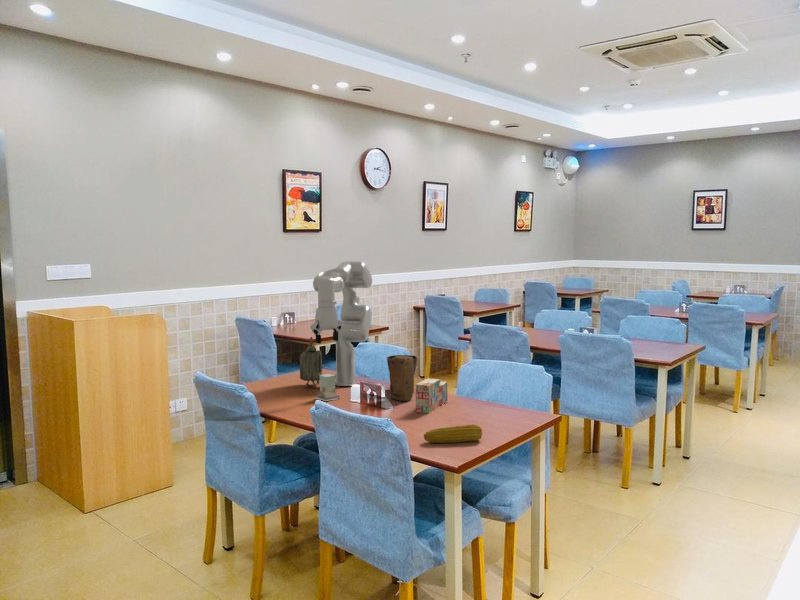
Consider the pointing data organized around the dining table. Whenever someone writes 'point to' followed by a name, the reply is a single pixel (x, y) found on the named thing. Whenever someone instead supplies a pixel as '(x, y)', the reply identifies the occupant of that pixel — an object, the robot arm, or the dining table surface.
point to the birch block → (327, 392)
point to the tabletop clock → (311, 365)
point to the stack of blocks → (430, 395)
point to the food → (454, 434)
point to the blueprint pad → (327, 398)
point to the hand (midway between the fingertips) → (327, 341)
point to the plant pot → (405, 355)
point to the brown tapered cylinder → (402, 378)
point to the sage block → (327, 380)
